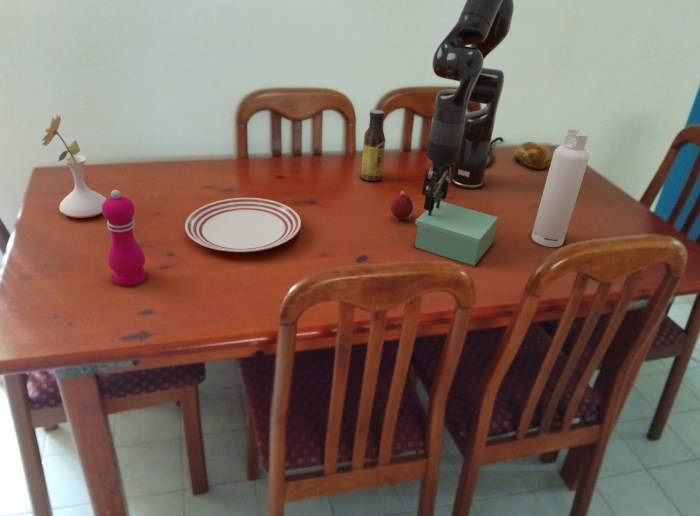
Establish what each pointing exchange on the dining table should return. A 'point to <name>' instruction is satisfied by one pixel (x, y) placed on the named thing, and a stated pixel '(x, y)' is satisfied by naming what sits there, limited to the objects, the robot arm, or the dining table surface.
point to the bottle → (561, 190)
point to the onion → (401, 206)
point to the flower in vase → (81, 198)
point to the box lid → (457, 220)
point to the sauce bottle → (373, 148)
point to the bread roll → (533, 155)
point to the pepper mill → (123, 241)
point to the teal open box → (453, 245)
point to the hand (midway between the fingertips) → (435, 203)
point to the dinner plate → (243, 225)
